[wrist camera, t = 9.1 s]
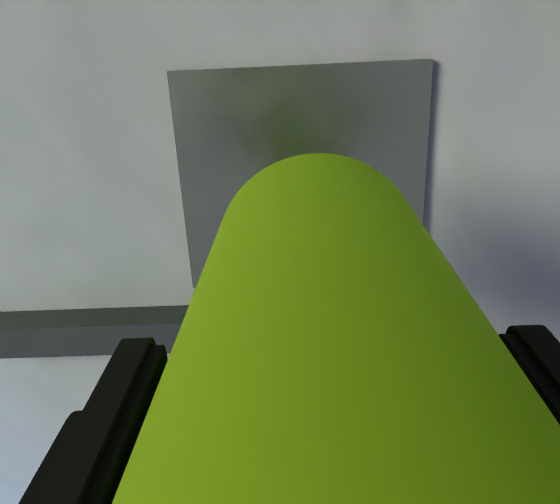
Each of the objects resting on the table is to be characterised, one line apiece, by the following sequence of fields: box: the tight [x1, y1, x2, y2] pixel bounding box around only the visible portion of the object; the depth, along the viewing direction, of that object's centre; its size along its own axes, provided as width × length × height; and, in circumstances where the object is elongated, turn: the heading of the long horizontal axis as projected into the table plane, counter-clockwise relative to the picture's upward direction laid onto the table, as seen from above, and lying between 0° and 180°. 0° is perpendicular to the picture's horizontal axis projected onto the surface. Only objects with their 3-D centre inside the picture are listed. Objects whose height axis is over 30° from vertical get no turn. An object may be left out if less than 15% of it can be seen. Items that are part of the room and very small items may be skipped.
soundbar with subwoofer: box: [0, 59, 433, 358], centre depth 24 cm, size 22×13×2 cm, turn 93°
